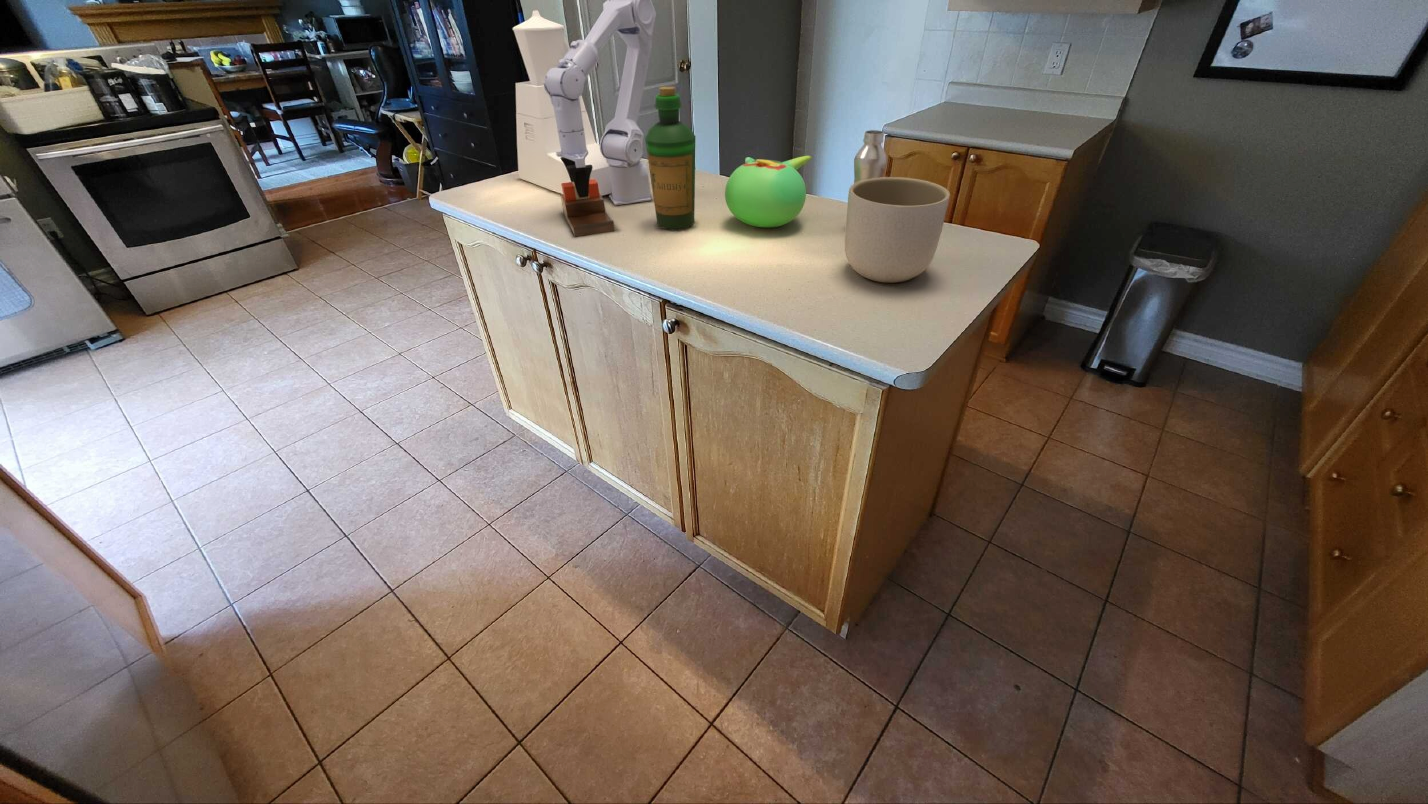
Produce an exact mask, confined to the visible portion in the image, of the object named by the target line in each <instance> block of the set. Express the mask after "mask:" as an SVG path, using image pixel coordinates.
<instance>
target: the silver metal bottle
mask: <svg viewBox="0 0 1428 804" xmlns="http://www.w3.org/2000/svg"><path fill="white" fill-rule="evenodd" d="M884 134H885V132H884V131H882V130H877V129H874V130H873V129H870V130H865V132H864V136H863V140H862V141H863V145H862V147H860V148H859V150H857V153H856V154H855V157H854V159H853V174H854V176H853V177H854V179H853V184H854V183H856V182H859V181H862V180H866V179H871V178H880V177H884V173H885V169H886V166H887V161H888V159H887V154H886V152H885V149H884V148H883V146H882V143H884V136H885V135H884Z"/></svg>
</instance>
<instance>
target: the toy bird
mask: <svg viewBox="0 0 1428 804" xmlns="http://www.w3.org/2000/svg"><path fill="white" fill-rule="evenodd" d="M811 159H812V156H811V155H803V156H799V157H796V158H792V159H789V160H785V161H781V160H776V159H774V160H773V159H763V158H761V159H760V158H759V159H757V158H756V159H754V158H752V157H749V156H748V157H745V160H744V161H745V163H743V164H741V165H740V166H738V167H737V168H736V169H734V171H733V172H732V173H731V175H730V176H729V178H728V179H727V182H726V184H725V188H724V189H725V190H724V198H725V199H724V200H725V203H726V206H727V208H728V210H729V212H730V213H731V214H732V216H734V217H735V218H736V219H737V220H739V221H740V222H742V223H744V224H746V225H749V226H752V227H755V228H756V227H757V228H777V227H781V226H784V225H786V224H788V223H790V222H792V221H793V220H795V218H797V217H798V215H800V213H801V212H802V211H803V208H804V206H805V203H806V198H807V188H806V184H805V181H804V179H803V177H802V175H801V173H799V172H798V171H797V170H798V169H800V168H801V167H802V166H804V165H805V164H806V163H808V162H809V161H810V160H811Z"/></svg>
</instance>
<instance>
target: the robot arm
mask: <svg viewBox="0 0 1428 804" xmlns="http://www.w3.org/2000/svg"><path fill="white" fill-rule="evenodd" d="M656 18H657V12H656V9H655V7H654V4H653V1H652V0H605V1H604V2H603V4H602V12H601V13H600V15H599V17H598V18H597V19H596V21H595V22H594V24H593V26H592V27H591V29H590V31H589V32H588V34H587V35H586V37H585V38H584V39H577V40H573V41H572V42H571V43H570V44H569V47H570V50H569V51H568V53H567V54H564V58H563V59H560V61H559V64H558V66H557V67H558V68H557V67H554V68H551V69H550V70H549V71H548V72H547V74H546V77H545V83H544V84H543V85H544V88H545V91H546V92H547V94H548V95H549V96H550V98H551V103H552V104H553V106H554V112H555V117H556V123H557V129H558V135H559V140H560V146H561V151H560V152H556V155H557V156H558V157H561V158H560V159H561V160H562V162H563V163H564V165H565V167H566V169H567V171H568V174H569V177H570V180H571V182H574V184H575V187H576V191H577V194H578V196H579V198H583V197H588V195H589V179H590V174H591V171H592V165H585V158H586V156H587V155H588V150H587V147H586V140H585V133H584V127H583V120H582V113H581V106H580V99H579V97H580V96H581V95H582V96H583V93H584V89H585V88H584V87H585V82H586V79H587V78H588V76H589V75H590V74H591V72H593V70H594V68H595V67H596V66H597V64H598V63H599V52H600V51H601V50H602V48H603V47H604V46H605V45H606V44H607V43H608V42H609V41H610V39H611V38H612V37H613V36H614V35H615V34H616V33H617V34H618V36H619V38H621V40H622V41H623V42H624V43H625V45H626V53H625V59H624V64H623V69H622V74H621V75H622V76H621V79H620V86H619V91H618V97H617V101H616V108H615V113H614V118H612V119H611V121H609V122H607V124H606V125H605V129H604V132H603V133H602V135H601V138H600V141H599V145H600V151H601V154H602V156H603V157H604V158H606V162H607V163H608V164H609V171H610V178H611V186H612V193H610V194H608V197H609V198H610V200H611V201H612V203H613V204H614V206H620V205H627V204H635V203H642V202H650V201H652V196H651V186H650V176H649V175H650V174H649V169H648V166H647V163H646V162H645V160H644V161H643V160H642V158H643V155H644V136H645V135H644V133H643V131H642V130H641V128H640V127H639V125H638V120H639V115H640V110H641V106H642V105H641V104H642V98H643V95H644V89H645V83H646V78H647V74H648V69H649V63H650V58H651V53H652V47H653V33H654V28H655V23H656Z"/></svg>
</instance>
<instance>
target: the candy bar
mask: <svg viewBox="0 0 1428 804" xmlns="http://www.w3.org/2000/svg"><path fill="white" fill-rule="evenodd" d="M561 185H562V190H563V194H562V195H563V196H564V198H565V200H566V201H572V200H580V199H587V198H594V197H600V195H599V188H598V183H597V181H596V180H595V179H592V180H589V195H588V197H583V198H579V196H578V194H577V191H576V187H575V184H574V182H568V183H561Z"/></svg>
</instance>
